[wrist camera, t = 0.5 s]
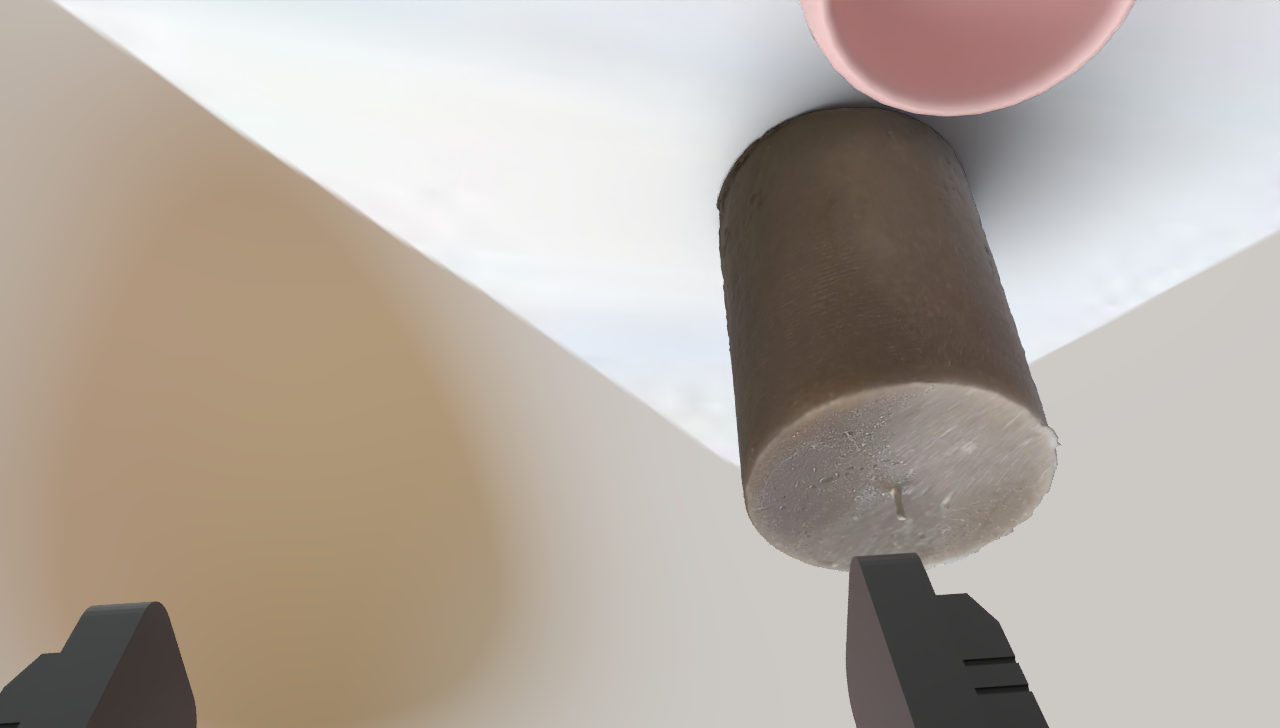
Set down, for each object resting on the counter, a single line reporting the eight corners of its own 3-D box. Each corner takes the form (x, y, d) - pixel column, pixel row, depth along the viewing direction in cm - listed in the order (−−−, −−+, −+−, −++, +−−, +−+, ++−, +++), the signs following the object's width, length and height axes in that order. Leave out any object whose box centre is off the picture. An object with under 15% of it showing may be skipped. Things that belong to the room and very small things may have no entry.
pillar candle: (668, 188, 44) (679, 504, 34) (897, 54, 40) (990, 367, 30) (798, 333, 50) (841, 642, 40) (1011, 228, 46) (1121, 543, 36)
